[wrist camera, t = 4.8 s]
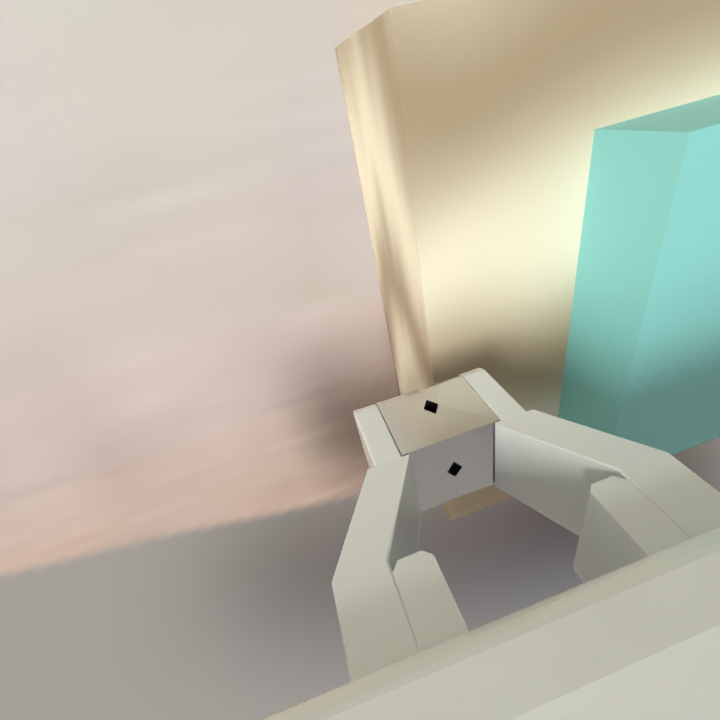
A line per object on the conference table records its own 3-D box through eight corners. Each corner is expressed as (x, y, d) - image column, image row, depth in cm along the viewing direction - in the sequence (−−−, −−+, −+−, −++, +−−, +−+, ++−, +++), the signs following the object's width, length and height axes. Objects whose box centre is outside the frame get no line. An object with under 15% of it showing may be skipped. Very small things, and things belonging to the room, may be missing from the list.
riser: (335, 47, 9) (389, 8, 6) (873, -80, 11) (1147, -165, 8) (409, 443, 17) (450, 520, 14) (714, 334, 19) (814, 380, 16)
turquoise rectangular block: (594, 129, 8) (690, 132, 6) (836, 61, 8) (982, 47, 7) (555, 436, 13) (601, 482, 11) (707, 379, 13) (773, 415, 12)
